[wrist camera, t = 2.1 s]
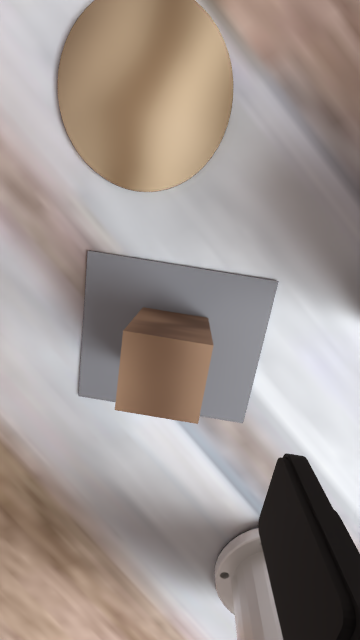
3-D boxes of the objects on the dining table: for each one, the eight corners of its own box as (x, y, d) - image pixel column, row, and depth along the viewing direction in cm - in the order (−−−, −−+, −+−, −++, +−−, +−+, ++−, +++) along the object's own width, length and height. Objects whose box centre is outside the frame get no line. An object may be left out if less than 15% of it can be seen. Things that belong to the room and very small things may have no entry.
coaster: (249, 2, 16) (250, -3, 16) (214, 203, 19) (214, 202, 19) (64, -26, 16) (61, -32, 16) (57, 178, 19) (54, 177, 19)
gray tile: (277, 281, 20) (278, 281, 20) (242, 421, 23) (243, 423, 23) (88, 250, 20) (87, 250, 20) (79, 394, 23) (78, 396, 23)
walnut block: (208, 317, 21) (213, 345, 15) (197, 377, 22) (198, 423, 16) (142, 307, 21) (123, 330, 15) (135, 367, 22) (114, 410, 16)
